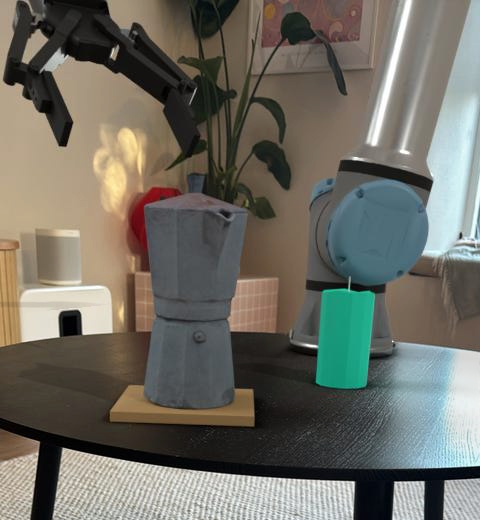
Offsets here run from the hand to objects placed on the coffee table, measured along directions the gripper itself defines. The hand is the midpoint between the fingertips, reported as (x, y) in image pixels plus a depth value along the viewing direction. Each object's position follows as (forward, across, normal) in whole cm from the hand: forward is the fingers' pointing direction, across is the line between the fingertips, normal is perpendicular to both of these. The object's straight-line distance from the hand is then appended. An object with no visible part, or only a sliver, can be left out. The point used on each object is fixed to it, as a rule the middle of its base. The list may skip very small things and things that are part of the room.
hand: (132, 141), depth 73 cm
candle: (+22, -23, -12) cm, 34 cm away
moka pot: (+24, 0, -9) cm, 26 cm away
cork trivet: (+24, 0, -10) cm, 26 cm away
